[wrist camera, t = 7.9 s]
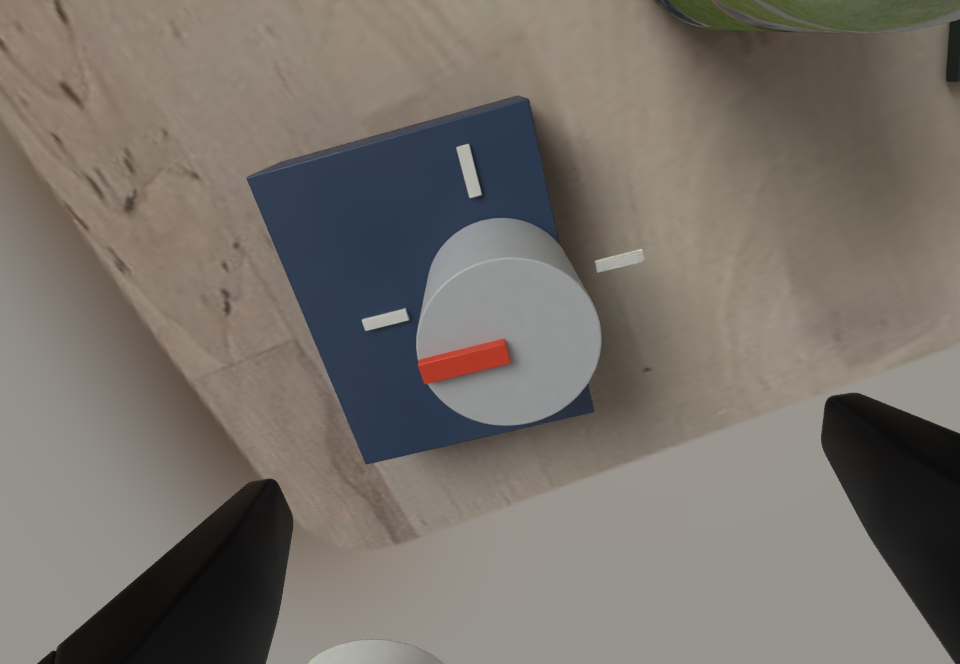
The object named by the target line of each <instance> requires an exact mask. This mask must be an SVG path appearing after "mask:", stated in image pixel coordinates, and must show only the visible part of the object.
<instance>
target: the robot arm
mask: <svg viewBox="0 0 960 664" xmlns="http://www.w3.org/2000/svg"><path fill="white" fill-rule="evenodd" d="M821 443H822V447H823V450H824V453H825V454H826V457H827V459H828V460H829V462H830V464H831V466H832V468H833V470H834V471H835V473H836V475H837V477H838V479H839V481H840V483H841V485H842V487H843V489H844V490H845V492H846V494H847V496H848V498H849V500H850V502H851V503H852V506H853V507H854V509H855V511H856V513H857V515H858V517H859V519H860V521H861V522H862V524H863V526H864V528H865V530H866V531H867V533H868V535H869V537H870V538H871V540H872V541H873V543H874V545H875V546H876V548H877V549H878V551H879V552H880V554H881V555H882V557H883V558H884V560H885V561H886V563H887V564H888V566H889V567H890V568H891V570H892V571H893V573H894V574H895V576H896V577H897V579H898V580H899V582H900V583H901V585H902V586H903V588H904V589H905V590H906V592H907V593H908V595H909V596H910V598H911V599H912V601H913V602H914V604H915V605H916V607H917V608H918V610H919V611H920V613H921V614H922V616H923V617H924V619H925V620H926V621H927V623H928V624H929V626H930V627H931V629H932V630H933V632H934V633H935V635H936V636H937V637H938V639H939V641H940V642H941V644H942V645H943V646H944V648H945V649H946V651H947V652H948V654H949V655H950V657H951V658H952V660H953V661H954V663H955V664H960V434H959V433H957V432H955V431H952V430H950V429H947V428H945V427H942V426H940V425H937V424H934V423H932V422H930V421H927V420H925V419H922V418H920V417H917V416H914V415H912V414H910V413H907V412H905V411H902V410H899V409H897V408H895V407H892V406H890V405H887V404H885V403H882V402H880V401H877V400H874V399H872V398H870V397H867V396H865V395H862V394H859V393H848V394H840V395H834V396H831V397H829V398H828V399H827V401H826V403H825V408H824V417H823V425H822V434H821ZM292 531H293V516H292V513H291V510H290V508H289V506H288V504H287V501H286V499H285V497H284V495H283V493H282V491H281V488H280V486H279V484H278V483H277V482H276V481H275V480H274V479H264V480H257V481H252V482H249V483H248V484H246V485H245V486H244V487H243V488H242V489H240V490H239V491H238V492H237V493H236V494H235V495H234V496H232V497H231V498H230V499H229V500H228V501H226V502H225V503H224V504H223V505H222V506H221V507H219V508H218V509H217V510H216V511H215V512H214V513H213V514H211V515H210V516H209V517H208V518H207V519H205V520H204V521H203V522H202V523H201V524H200V525H198V526H197V527H196V528H195V529H194V530H193V531H191V532H190V533H189V534H188V535H187V536H186V537H185V538H184V539H182V540H181V541H180V542H179V543H178V544H176V545H175V546H174V547H173V548H172V549H171V550H169V551H168V552H167V553H166V554H165V555H163V556H162V557H161V558H160V559H159V560H158V561H157V562H155V563H154V564H153V565H152V566H151V567H150V568H148V569H147V570H146V571H145V572H144V573H142V575H140V576H139V577H138V578H137V579H136V580H134V581H133V582H132V583H131V584H130V585H128V586H127V587H126V588H125V589H124V590H123V591H121V592H120V593H119V594H118V595H117V596H116V597H115V598H113V599H112V600H111V601H110V602H109V603H108V604H106V605H105V606H104V607H103V608H102V609H101V610H100V611H98V612H97V613H96V614H95V615H94V616H92V617H91V618H90V619H89V620H88V621H87V622H85V623H84V624H83V625H82V626H81V627H80V628H79V629H77V630H76V631H75V632H74V633H73V634H71V635H70V636H69V637H68V638H67V639H66V640H64V641H63V642H62V643H61V644H60V645H59V646H58V647H57V650H56V651H52V652H50V653H49V654H48V655H47V656H46V657H44V658H43V659H42V660H41V661H40V662H39V663H37V664H266V660H267V657H268V653H269V649H270V646H271V642H272V638H273V635H274V631H275V627H276V623H277V619H278V615H279V610H280V605H281V599H282V594H283V587H284V581H285V575H286V568H287V562H288V556H289V550H290V544H291V537H292Z"/></svg>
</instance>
